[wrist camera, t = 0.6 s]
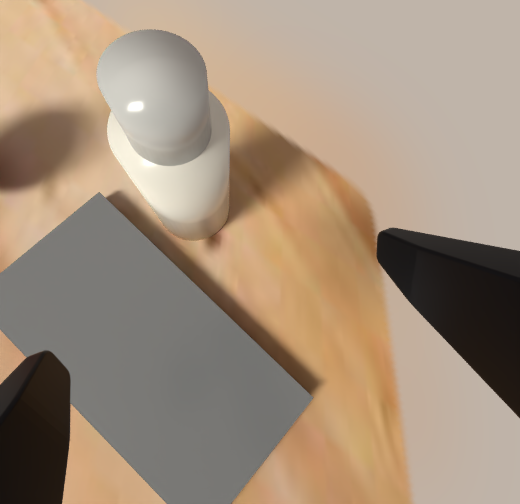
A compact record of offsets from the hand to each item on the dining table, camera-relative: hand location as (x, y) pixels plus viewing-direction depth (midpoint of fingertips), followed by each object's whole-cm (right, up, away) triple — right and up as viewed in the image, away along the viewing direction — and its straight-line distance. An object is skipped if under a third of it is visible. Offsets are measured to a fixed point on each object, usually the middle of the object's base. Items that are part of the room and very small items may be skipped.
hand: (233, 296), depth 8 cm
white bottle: (-4, +5, +14) cm, 16 cm away
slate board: (-7, -5, +12) cm, 14 cm away
